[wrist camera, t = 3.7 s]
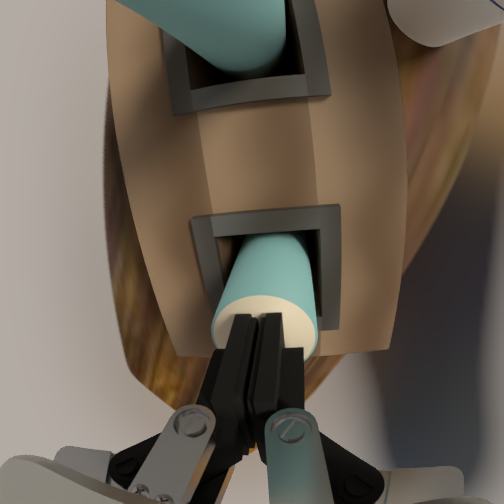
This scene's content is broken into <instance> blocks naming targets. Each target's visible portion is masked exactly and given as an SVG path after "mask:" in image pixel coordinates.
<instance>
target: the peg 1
mask: <svg viewBox="0 0 504 504" xmlns="http://www.w3.org/2000/svg"><path fill="white" fill-rule="evenodd" d="M115 1H117V2H119V3H120V4H122V5H124V6H126V7H127V8H129V9H131V10H133V11H134V12H136V13H138V14H139V15H141V16H143V17H144V18H146V19H147V20H149V21H151V22H152V23H154V24H155V25H157V26H158V27H160V28H161V29H163V30H165V31H166V32H168V33H169V34H170V35H172V36H173V37H175V38H176V39H178V40H179V41H181V42H182V43H183V44H185V45H186V46H188V47H189V48H190V49H192V50H193V51H195V52H196V53H197V54H199V55H200V56H201V57H203V58H204V59H205V60H207V61H208V62H209V63H211V64H212V65H213V66H214V67H216V68H217V69H218V70H220V71H221V72H222V73H223V74H225V75H226V76H227V77H229V78H231V79H233V80H236V81H244V80H251V79H258V78H267V77H270V76H272V75H273V74H275V73H276V72H277V71H278V70H279V69H280V67H281V66H282V64H283V63H284V60H285V57H286V27H285V5H284V0H115Z"/></svg>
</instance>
